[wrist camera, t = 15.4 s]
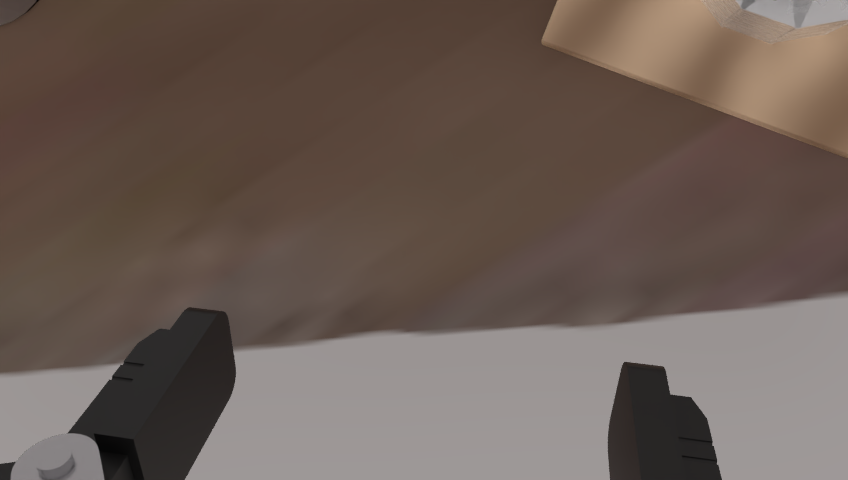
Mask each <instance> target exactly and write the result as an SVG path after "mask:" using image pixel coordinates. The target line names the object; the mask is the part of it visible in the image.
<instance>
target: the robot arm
mask: <svg viewBox="0 0 848 480" xmlns="http://www.w3.org/2000/svg"><path fill="white" fill-rule="evenodd" d="M36 1H37V0H0V25H3V24H6V23H9V22H12V21H14V20H15V19H17V18H18V17H20V16H21V15H23V14H25V13H26V12H27V10H28V9H29V8H30V7H31V6H32V5H33V4H34V3H35V2H36ZM235 377H236V367H235V360H234V353H233V346H232V339H231V333H230V326H229V320H228V316H227V314H226V313H225V312H223V311H215V310H207V309H199V308H187V309H186V310H185V311H184V312H183V313H182V314H181V316H180V317H179V318H178V320H177V321H176V322H175V324H174V325H173V326H172V328H171V329H170V330H167V329H159V330H157V331H156V332H154V333H153V334H151V335H150V336H148V337H147V338H145V339H144V340H142V341H141V342H139V343H138V344H137V345H136V346H135V348H134V349H133V350H132V352H131V353H130V354H129V355H128V357H127V358H126V359H125V361H124V364H123V365H121V366H120V367H119V368H118V369H117V371H116V372H115V373H114V375H113V376H112V380H109V381H108V382H107V384H106V385H105V386H104V387H103V389H102V390H101V391H100V393H99V394H98V395H97V397H96V398H95V399H94V400H93V402H92V403H91V404H90V406H89V407H88V408H87V409H86V410H85V412H84V413H83V414H82V416H81V417H80V418H79V419H78V421H77V422H76V424H75V425H74V426H73V427H72V428H71V430H70V431H69V432H68V433H67V434H61V435H56V436H52V437H50V438H47V439H44V440H42V441H40V442H38V443H36V444H35V445H33V446H32V447H30V448H29V449H28V450H26V451H25V452H24V453H23V454H22V455H21V456H20V457H19V459H18V460H17V461H16V462H12V463H5V464H0V480H185V478H186V476H187V475H188V473H189V471H190V469H191V467H192V465H193V464H194V462H195V460H196V458H197V456H198V455H199V453H200V451H201V449H202V447H203V446H204V444H205V442H206V440H207V438H208V437H209V435H210V433H211V431H212V429H213V428H214V426H215V424H216V422H217V420H218V418H219V417H220V415H221V413H222V411H223V410H224V408H225V406H226V404H227V402H228V401H229V399H230V397H231V394H232V391H233V388H234V383H235ZM608 459H609V472H610V480H722V478H721V474H720V470H719V466H718V465H717V458H716V454H715V450H714V446H712V437H711V433H710V429H709V425H708V421H707V418H706V417H705V416H704V414H703V413H702V411H701V410H700V409H699V407H698V406H697V405H696V404H695V402H694V401H693V400H692V398H691V397H685V396H677V395H670V391H669V386H668V381H667V376H666V371H665V369H664V367H662V366H654V365H646V364H638V363H630V362H624V363H623V365H622V368H621V373H620V377H619V381H618V386H617V390H616V395H615V399H614V404H613V408H612V413H611V417H610V423H609V431H608Z"/></svg>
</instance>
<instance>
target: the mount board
mask: <svg viewBox="0 0 848 480" xmlns="http://www.w3.org/2000/svg"><path fill="white" fill-rule="evenodd" d="M542 45H544V46H547V47H550V48H552V49H555V50H558V51H561V52H563V53H566V54H569V55H571V56H574V57H577V58H579V59H582V60H585V61H587V62H590V63H593V64H595V65H598V66H601V67H603V68H606V69H609V70H612V71H614V72H617V73H620V74H622V75H625V76H628V77H630V78H633V79H636V80H638V81H641V82H644V83H646V84H649V85H652V86H654V87H657V88H660V89H663V90H665V91H668V92H671V93H673V94H676V95H679V96H681V97H684V98H687V99H689V100H692V101H695V102H697V103H700V104H703V105H705V106H708V107H711V108H714V109H716V110H719V111H722V112H724V113H727V114H730V115H732V116H735V117H738V118H740V119H743V120H746V121H748V122H751V123H754V124H756V125H759V126H762V127H764V128H767V129H770V130H773V131H775V132H778V133H781V134H783V135H786V136H789V137H791V138H794V139H797V140H799V141H802V142H805V143H807V144H810V145H813V146H815V147H818V148H821V149H824V150H826V151H829V152H832V153H834V154H837V155H840V156H842V157H845V158H848V24H847V25H845V26H843V27H841V28H839V29H837V30H834V31H832V32H830V33H828V34H826V35H824V36H823V35H818V36H812V37H806V38H800V39H795V40H789V41H783V42H777V43H774V44H768V43H767V42H764V41H762V40H759V39H756V38H753V37H750V36H748V35H745V34H742V33H739V32H736V31H734V30H731V29H728V28H725V27H723V28H722V26H720V24H719V23H718V21H717V20H716V19H715V18H714V16H713V15H712V14H711V13H710V11H709V10H708V9H707V8H706V6H705V5H704V4H703V3H702V1H701V0H558V1H557V3H556V5H555V8H554V10H553V13H552V15H551V18H550V20H549V23H548V25H547V28H546V30H545V33H544V35H543V38H542Z"/></svg>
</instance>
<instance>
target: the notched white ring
mask: <svg viewBox="0 0 848 480" xmlns="http://www.w3.org/2000/svg"><path fill="white" fill-rule="evenodd" d="M701 1H702V3H703V4H704V5H705V6H706V8H707V9H708V10H709V11H710V13H711V14H712V15H713V16H714V18H715V19H716V20H717V21H718V23H719V24H720V26H722V28H723V27H725V28H728V29H731V30H734V31H736V32H739V33H742V34H745V35H748V36H750V37H753V38H756V39H759V40H762V41H764V42H767V43H768V44H774V43H777V42H783V41H789V40H795V39H800V38H806V37H812V36H818V35H823V36H824V35H826V34H828V33H830V32H832V31H834V30H837V29H839V28H841V27H843V26H845V25H847V24H848V0H701Z"/></svg>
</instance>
